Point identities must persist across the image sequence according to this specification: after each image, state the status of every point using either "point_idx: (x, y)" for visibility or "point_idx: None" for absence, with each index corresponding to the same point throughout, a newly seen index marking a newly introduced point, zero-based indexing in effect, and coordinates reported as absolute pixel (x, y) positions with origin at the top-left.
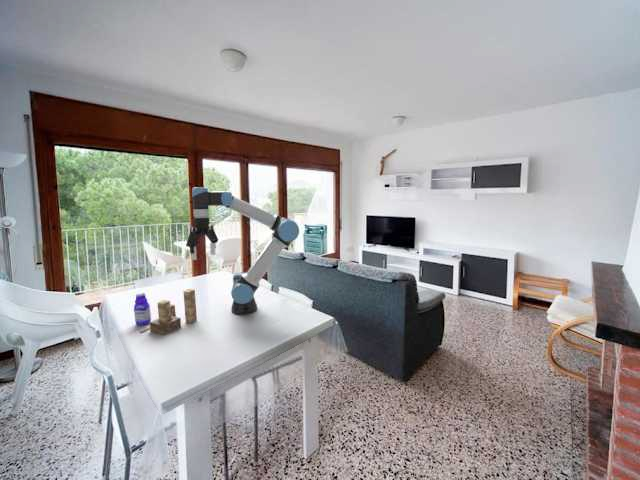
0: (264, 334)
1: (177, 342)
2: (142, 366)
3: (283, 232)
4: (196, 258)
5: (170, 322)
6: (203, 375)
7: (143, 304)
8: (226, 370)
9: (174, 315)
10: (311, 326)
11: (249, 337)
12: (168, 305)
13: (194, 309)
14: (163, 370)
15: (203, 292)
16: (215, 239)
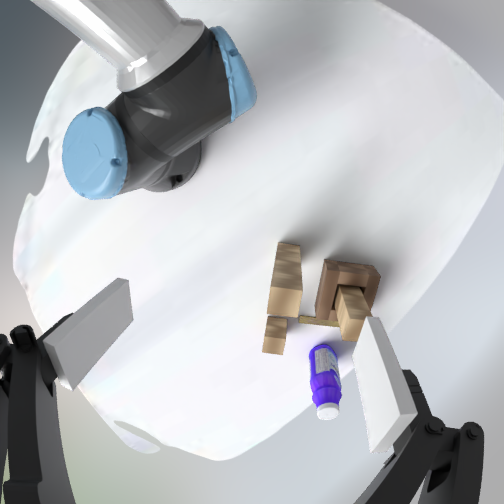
0: (298, 17)
1: (400, 207)
2: (478, 212)
3: None
4: (370, 322)
5: (360, 274)
6: (472, 82)
7: (334, 382)
8: (449, 48)
9: (271, 319)
10: None
11: (327, 42)
12: (353, 311)
13: (282, 256)
14: (481, 163)
15: (116, 339)
16: (5, 366)
